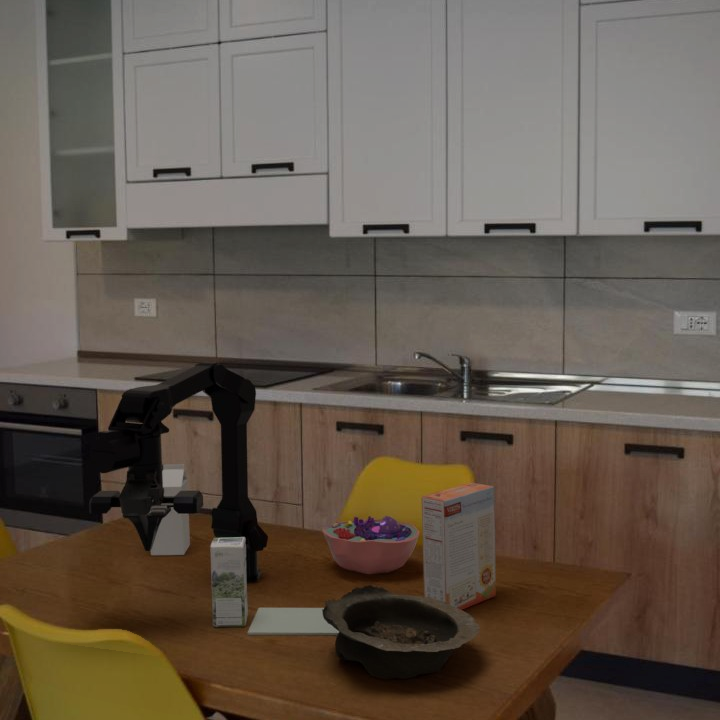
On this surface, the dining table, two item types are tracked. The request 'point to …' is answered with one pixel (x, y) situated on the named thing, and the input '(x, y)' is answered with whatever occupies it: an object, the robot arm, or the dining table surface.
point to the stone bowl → (397, 631)
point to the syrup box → (229, 581)
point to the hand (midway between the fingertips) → (148, 550)
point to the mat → (290, 622)
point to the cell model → (371, 544)
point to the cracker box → (459, 545)
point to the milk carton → (173, 516)
